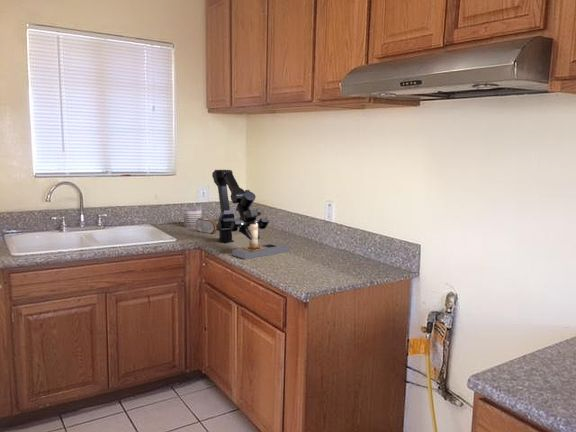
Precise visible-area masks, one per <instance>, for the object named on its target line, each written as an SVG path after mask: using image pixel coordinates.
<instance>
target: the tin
mask: <svg viewBox="0 0 576 432" xmlns="http://www.w3.org/2000/svg"><path fill="white" fill-rule="evenodd" d="M217 224H218V222H216V220H214V219H213V218H212V219H211V218H205V217H202V218H200V219H198V220H197V221H196V228H195V229H196V230H197V231H198V232H199V233H203V234H210V235H211V234H216V233H217V232H218V231H217V229H216V226H217Z"/></svg>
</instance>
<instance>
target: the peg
mask: <svg viewBox="0 0 576 432" xmlns="http://www.w3.org/2000/svg"><path fill="white" fill-rule="evenodd" d="M249 232H250V235H251V238H252V239H251V240H250V239H249V247H250V249H251V250H255V249H258V245H259V239H258V224H250V227H249Z"/></svg>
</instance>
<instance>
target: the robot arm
mask: <svg viewBox="0 0 576 432" xmlns="http://www.w3.org/2000/svg"><path fill="white" fill-rule="evenodd" d="M211 173H212V178H213V183H214V184H215V185H216V186H217V193H218V198H219V207H220V214H219V216H218V222H217V226H216V229H217V231H216V232H218V233H219V234H218V235H219V240H217V242H218V243H223V244H227V243H233V242H234V239H233V233H232V232H237V231H238V233H241V234H242V235H244V236H245V237H246V238H248V240H249V241H250V240H251V239H252V238H251V235H250V229H249V228H250V224H258V240H260V238H261V237H260V235H261V234H260V233H261V230H265V229H266V228H267V226H268V225H269V222H270V221H269V219H268V218H267V217H266V218H259V220H258V221H257V217H260V216H261V215H262V211H261V208H260V207H259V208H255V209H251V208H250V207H252V205H253V203H254V201H255V200H256V197H257V196H256V194H255V193H254V192H252V191H250V190H249V189H245V190H244V189H243V188H242V187H240V186H239V184H238V182H237V180H236V178H235V176H234V174H233V173H234V172H233V170H231V169H214V171H212V172H211ZM228 189H229V191H230V199H229V195H228V194H229V193H228ZM229 200H230V201H231V202H232V204H237V205H236V208H235V211H236V212H238V215H239V219H237V220H236V218H235V214H234V213H232V211H231V208H230V201H229Z"/></svg>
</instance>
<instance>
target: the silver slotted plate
mask: <svg viewBox="0 0 576 432" xmlns="http://www.w3.org/2000/svg"><path fill="white" fill-rule="evenodd" d="M290 247H291V245H289V244H286V243H282V242H278V241H274V242H269V243H263V244H258V249H255V250H251V249H250V246H245V247H239V248H233V249H232V250H231V251H232V252H231V253H232V255H231V256H233V257H236V258H240V259H242V260H251V259H256V258H261V257H267V256H271V255H277V254H282V253H287V252H290V251H291V248H290Z"/></svg>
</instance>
